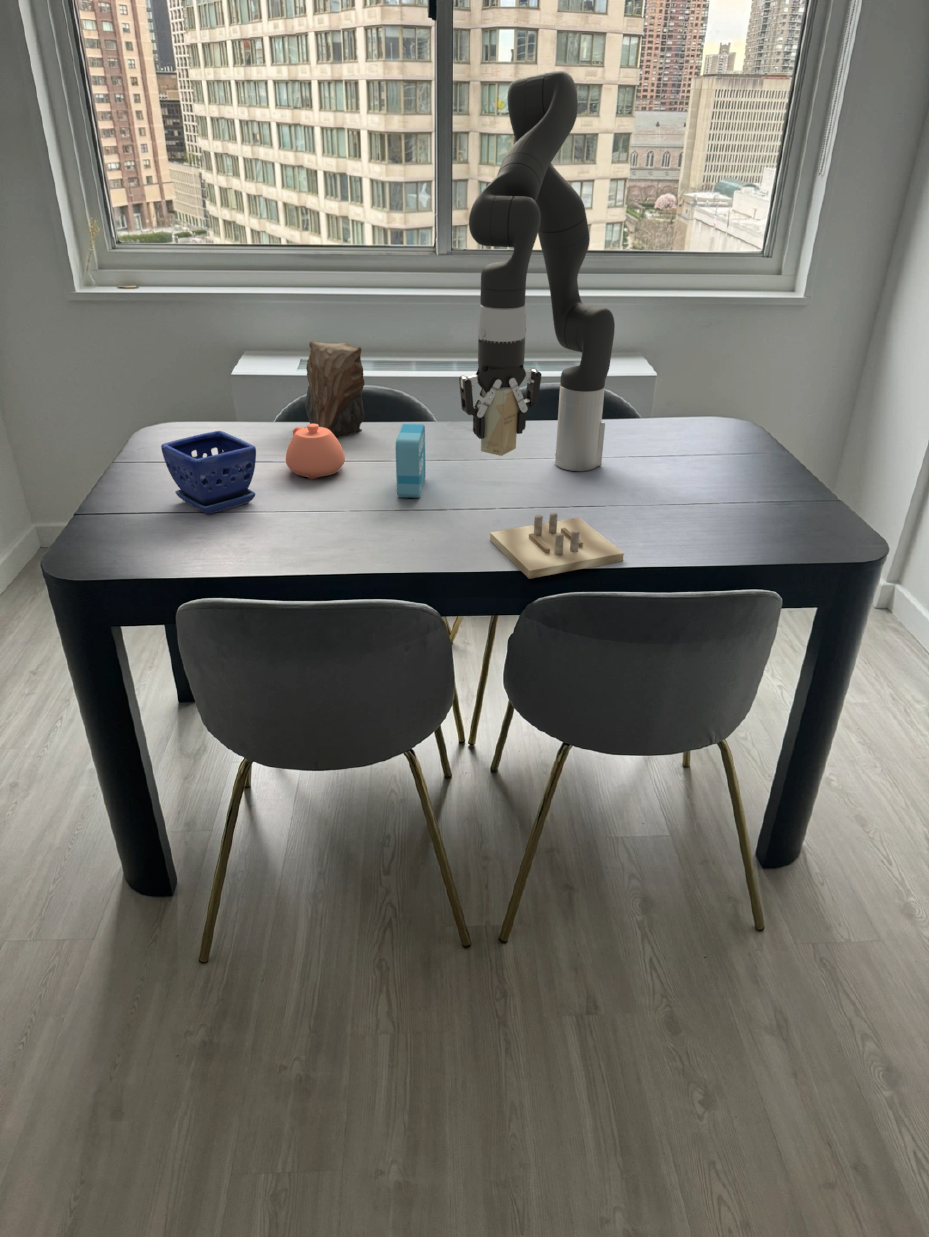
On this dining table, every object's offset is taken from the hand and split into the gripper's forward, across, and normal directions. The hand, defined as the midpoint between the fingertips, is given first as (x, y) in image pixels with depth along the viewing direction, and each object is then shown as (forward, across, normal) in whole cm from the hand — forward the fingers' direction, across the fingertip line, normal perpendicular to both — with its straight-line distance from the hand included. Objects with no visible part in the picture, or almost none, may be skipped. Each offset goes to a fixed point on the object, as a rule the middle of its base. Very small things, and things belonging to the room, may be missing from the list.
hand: (499, 434), depth 148 cm
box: (+3, 0, 0) cm, 3 cm away
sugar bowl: (+20, +23, -44) cm, 54 cm away
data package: (+20, +7, -28) cm, 35 cm away
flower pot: (+20, +45, -34) cm, 60 cm away
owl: (+20, +14, -68) cm, 72 cm away
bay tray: (+19, -8, +8) cm, 22 cm away
